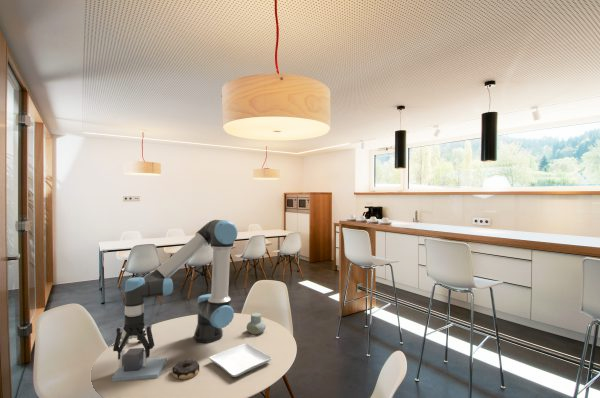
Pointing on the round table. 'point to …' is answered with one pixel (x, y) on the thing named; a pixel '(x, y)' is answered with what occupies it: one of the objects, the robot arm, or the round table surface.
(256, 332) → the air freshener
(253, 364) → the salad plate
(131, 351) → the brushed metal cube
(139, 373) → the board
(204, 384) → the round table surface
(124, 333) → the valve
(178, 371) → the donut
